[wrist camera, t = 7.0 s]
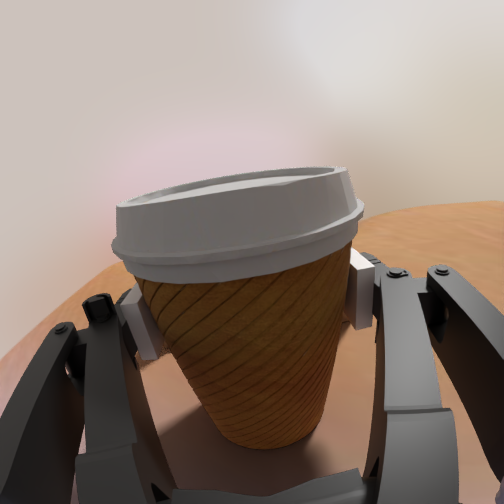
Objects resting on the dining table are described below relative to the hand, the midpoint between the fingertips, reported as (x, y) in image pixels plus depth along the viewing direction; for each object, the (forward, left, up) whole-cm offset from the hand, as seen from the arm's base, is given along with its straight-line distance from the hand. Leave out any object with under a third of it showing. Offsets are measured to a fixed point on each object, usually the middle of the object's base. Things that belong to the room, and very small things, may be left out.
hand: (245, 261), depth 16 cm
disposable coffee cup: (+4, +2, -7) cm, 9 cm away
